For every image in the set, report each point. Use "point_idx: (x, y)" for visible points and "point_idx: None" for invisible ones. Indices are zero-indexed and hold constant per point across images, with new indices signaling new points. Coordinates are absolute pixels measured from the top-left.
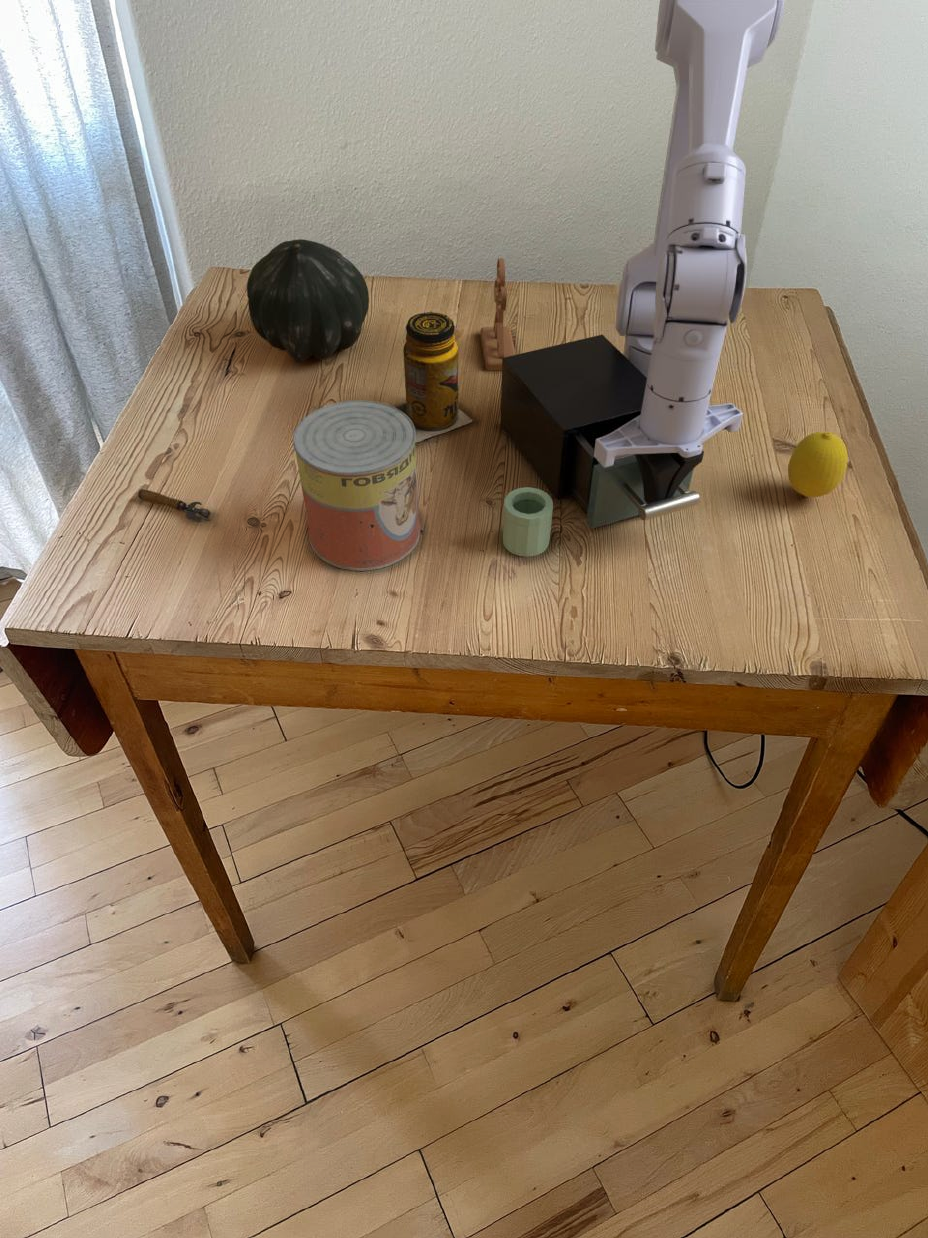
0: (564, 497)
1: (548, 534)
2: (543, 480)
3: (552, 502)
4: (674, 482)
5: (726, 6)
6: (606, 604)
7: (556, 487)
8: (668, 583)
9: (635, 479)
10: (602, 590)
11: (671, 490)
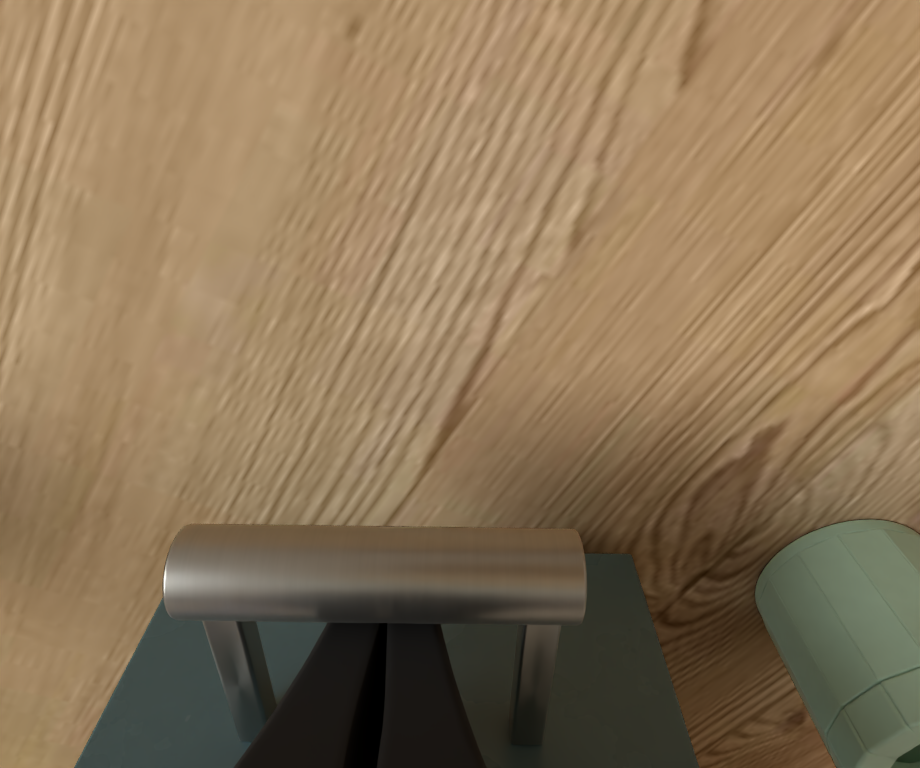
0: None
1: (845, 588)
2: None
3: (879, 743)
4: (331, 753)
5: None
6: (871, 176)
7: None
8: (507, 174)
9: None
10: (812, 265)
11: (345, 675)
